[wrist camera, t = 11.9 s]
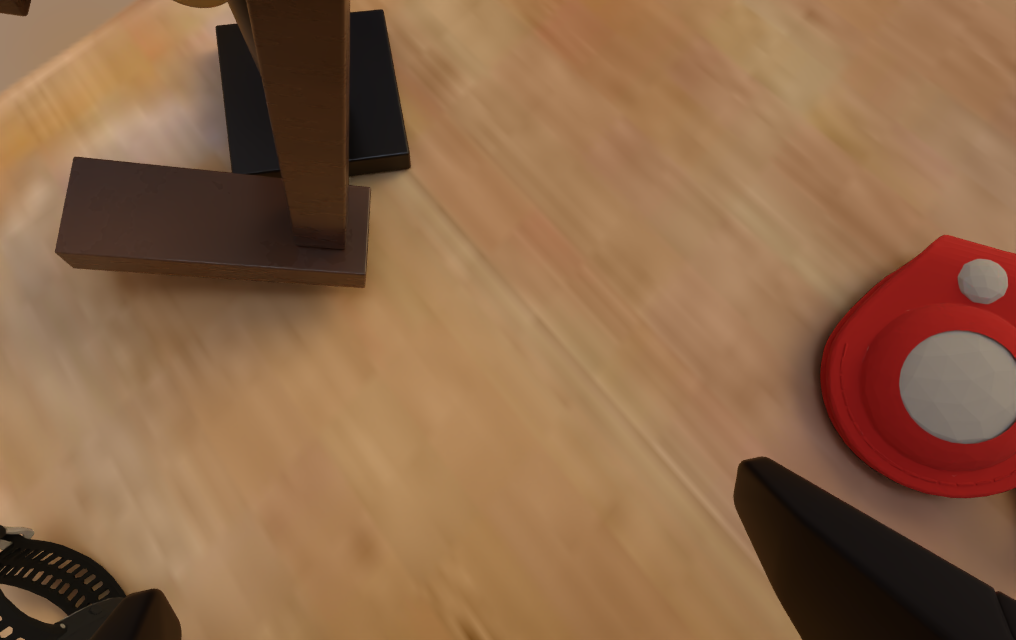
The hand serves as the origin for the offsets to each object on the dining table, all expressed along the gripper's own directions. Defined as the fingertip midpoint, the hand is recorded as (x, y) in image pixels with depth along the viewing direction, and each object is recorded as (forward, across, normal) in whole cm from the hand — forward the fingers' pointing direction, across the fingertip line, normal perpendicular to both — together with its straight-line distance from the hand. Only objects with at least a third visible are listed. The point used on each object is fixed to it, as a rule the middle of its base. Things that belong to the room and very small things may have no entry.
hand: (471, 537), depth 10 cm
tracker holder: (+9, -19, +10) cm, 23 cm away
